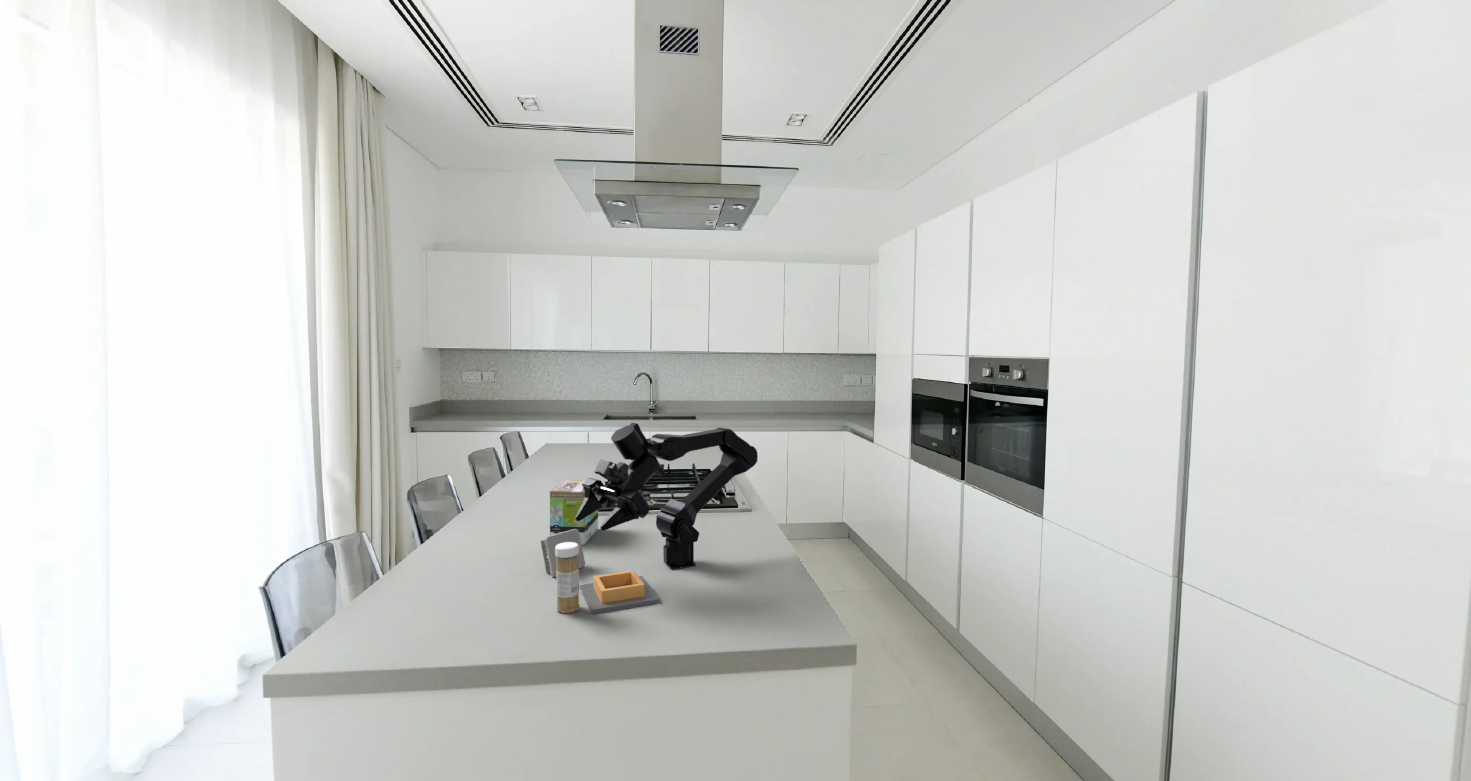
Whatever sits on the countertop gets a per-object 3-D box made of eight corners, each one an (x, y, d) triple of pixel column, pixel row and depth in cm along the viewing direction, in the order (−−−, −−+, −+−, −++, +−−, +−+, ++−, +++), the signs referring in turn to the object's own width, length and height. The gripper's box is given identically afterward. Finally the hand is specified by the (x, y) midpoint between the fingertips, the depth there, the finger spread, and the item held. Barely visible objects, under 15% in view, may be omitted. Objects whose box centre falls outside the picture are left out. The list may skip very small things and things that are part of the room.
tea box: (586, 545, 167) (585, 490, 166) (548, 545, 167) (547, 490, 166) (599, 528, 182) (598, 478, 181) (565, 528, 182) (563, 478, 181)
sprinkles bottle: (571, 602, 131) (570, 539, 130) (584, 609, 127) (583, 544, 126) (552, 609, 127) (550, 544, 126) (564, 616, 124) (563, 550, 123)
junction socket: (642, 579, 144) (641, 564, 143) (659, 602, 131) (659, 587, 131) (579, 588, 138) (579, 573, 138) (591, 613, 125) (591, 597, 125)
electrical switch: (553, 578, 144) (550, 538, 144) (539, 575, 147) (537, 536, 147) (586, 567, 151) (583, 529, 151) (573, 564, 155) (570, 527, 154)
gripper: (595, 442, 146) (545, 489, 137) (647, 454, 133) (596, 506, 124) (617, 477, 151) (570, 524, 142) (669, 491, 139) (622, 544, 130)
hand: (588, 524), depth 135 cm, fingers open, 9 cm apart
